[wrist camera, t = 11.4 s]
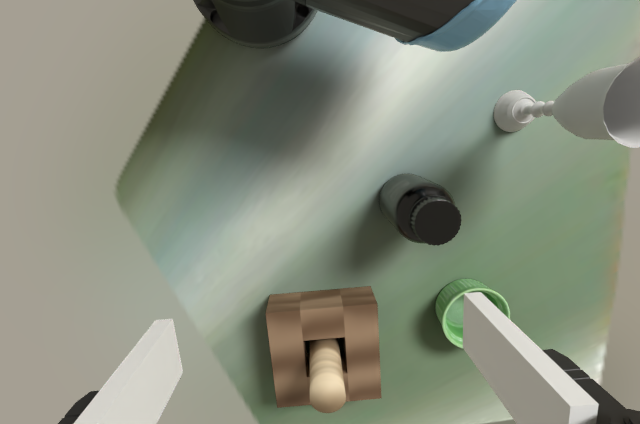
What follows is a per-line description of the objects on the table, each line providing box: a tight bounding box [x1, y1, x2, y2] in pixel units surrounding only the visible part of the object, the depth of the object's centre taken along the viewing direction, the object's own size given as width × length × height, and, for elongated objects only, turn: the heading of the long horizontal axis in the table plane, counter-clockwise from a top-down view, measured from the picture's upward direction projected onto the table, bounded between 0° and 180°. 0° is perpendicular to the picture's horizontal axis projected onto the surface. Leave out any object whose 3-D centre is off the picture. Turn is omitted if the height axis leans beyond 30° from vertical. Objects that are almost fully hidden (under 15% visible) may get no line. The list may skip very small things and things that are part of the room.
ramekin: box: [436, 279, 510, 349], centre depth 48 cm, size 9×9×4 cm
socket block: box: [266, 286, 381, 408], centre depth 48 cm, size 14×14×5 cm
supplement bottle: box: [379, 174, 461, 245], centre depth 40 cm, size 7×7×12 cm
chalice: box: [494, 56, 640, 148], centre depth 35 cm, size 7×7×18 cm
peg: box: [310, 338, 346, 413], centre depth 45 cm, size 4×4×12 cm
